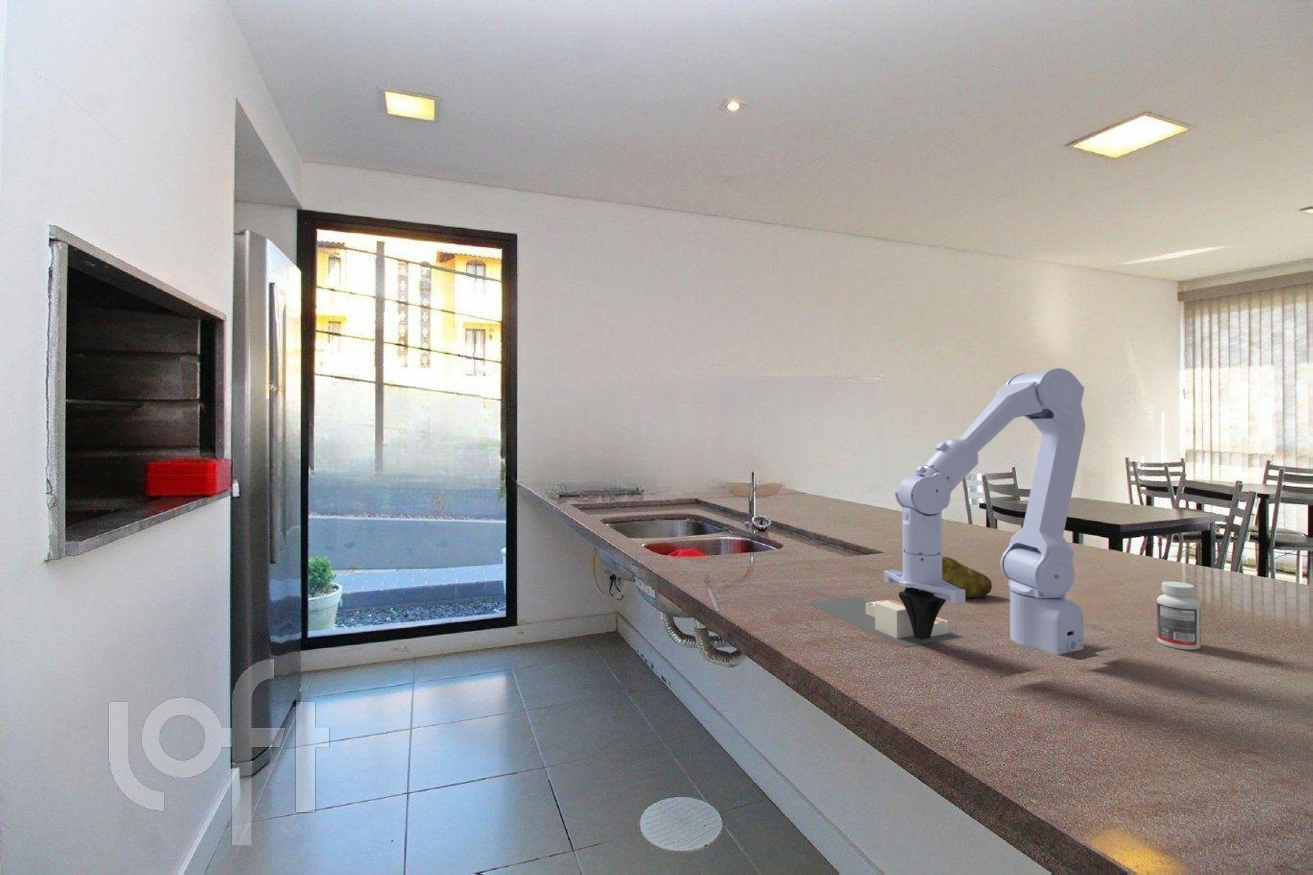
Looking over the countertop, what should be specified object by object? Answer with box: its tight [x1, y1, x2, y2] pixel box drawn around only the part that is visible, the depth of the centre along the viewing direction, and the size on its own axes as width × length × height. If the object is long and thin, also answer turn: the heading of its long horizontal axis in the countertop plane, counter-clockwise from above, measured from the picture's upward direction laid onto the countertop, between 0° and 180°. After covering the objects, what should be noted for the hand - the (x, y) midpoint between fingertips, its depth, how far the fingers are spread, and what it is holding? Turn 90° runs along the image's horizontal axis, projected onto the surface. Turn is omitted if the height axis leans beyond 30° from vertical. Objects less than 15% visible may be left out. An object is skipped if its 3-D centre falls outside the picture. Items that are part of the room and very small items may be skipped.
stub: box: [875, 599, 914, 638], centre depth 102 cm, size 5×4×5 cm
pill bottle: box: [1156, 581, 1202, 651], centre depth 98 cm, size 5×5×10 cm
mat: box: [805, 596, 964, 648], centre depth 109 cm, size 26×12×1 cm, turn 22°
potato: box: [942, 555, 993, 599], centre depth 128 cm, size 8×13×8 cm, turn 54°
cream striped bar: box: [866, 599, 949, 636], centre depth 106 cm, size 14×5×2 cm, turn 22°
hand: (922, 637), depth 96 cm, fingers closed
